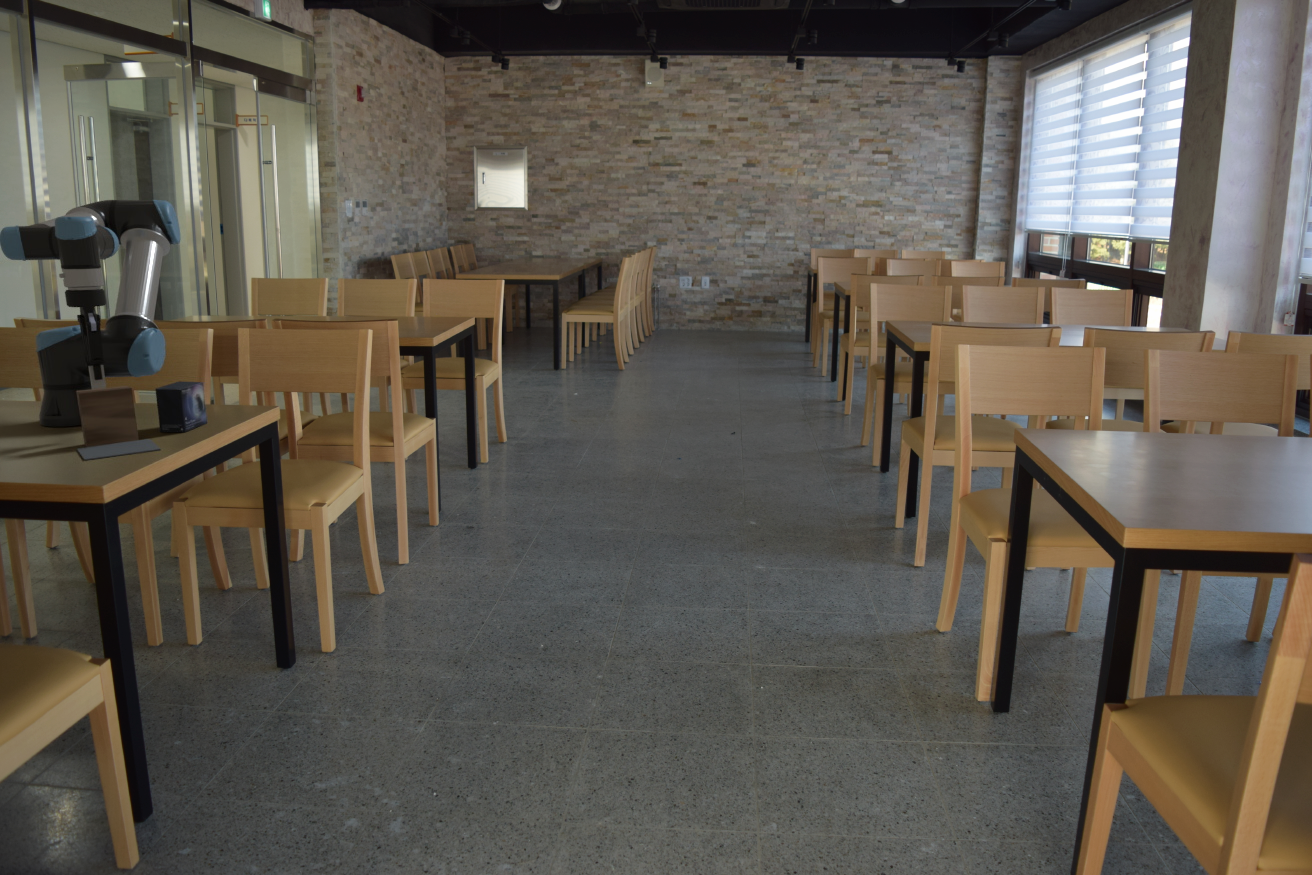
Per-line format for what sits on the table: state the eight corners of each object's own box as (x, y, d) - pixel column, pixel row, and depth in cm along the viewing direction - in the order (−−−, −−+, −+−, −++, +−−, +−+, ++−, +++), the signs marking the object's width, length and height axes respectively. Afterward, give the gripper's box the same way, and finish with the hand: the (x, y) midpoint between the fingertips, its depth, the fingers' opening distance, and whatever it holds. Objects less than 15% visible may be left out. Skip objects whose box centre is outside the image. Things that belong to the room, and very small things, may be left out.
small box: (186, 433, 211) (181, 388, 208) (158, 433, 211) (153, 388, 208) (209, 423, 221) (204, 380, 219) (183, 423, 221) (177, 380, 219)
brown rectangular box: (84, 444, 200) (76, 390, 197) (135, 437, 206) (128, 385, 203) (87, 447, 197) (78, 393, 194) (138, 440, 203) (131, 388, 200)
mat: (76, 449, 195) (76, 448, 195) (149, 440, 204) (149, 438, 204) (84, 460, 186) (84, 459, 186) (160, 450, 194) (160, 448, 194)
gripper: (60, 287, 203) (76, 391, 208) (68, 290, 193) (84, 399, 198) (99, 286, 207) (114, 387, 213) (108, 289, 197) (123, 395, 203)
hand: (99, 393), depth 205 cm, fingers closed
